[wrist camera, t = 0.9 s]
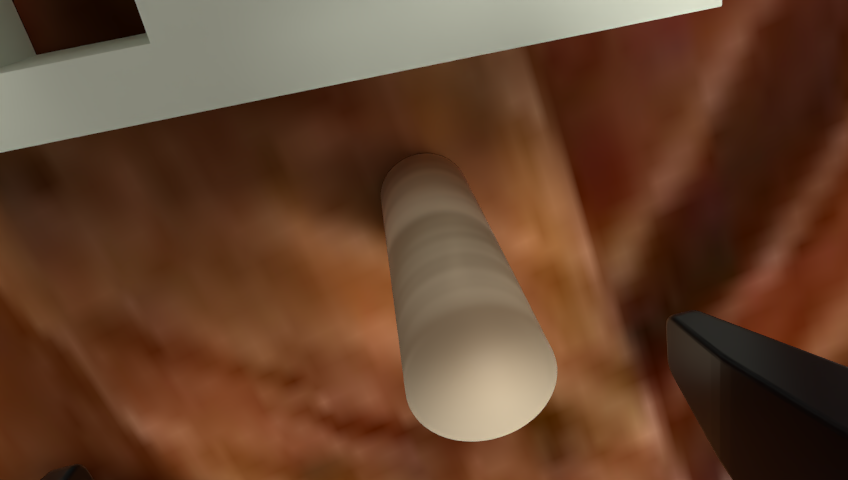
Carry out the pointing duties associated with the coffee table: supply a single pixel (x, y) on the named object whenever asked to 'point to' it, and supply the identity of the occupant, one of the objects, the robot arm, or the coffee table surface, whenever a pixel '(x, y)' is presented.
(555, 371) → the beech peg
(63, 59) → the hole block
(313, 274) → the coffee table surface
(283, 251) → the coffee table surface
